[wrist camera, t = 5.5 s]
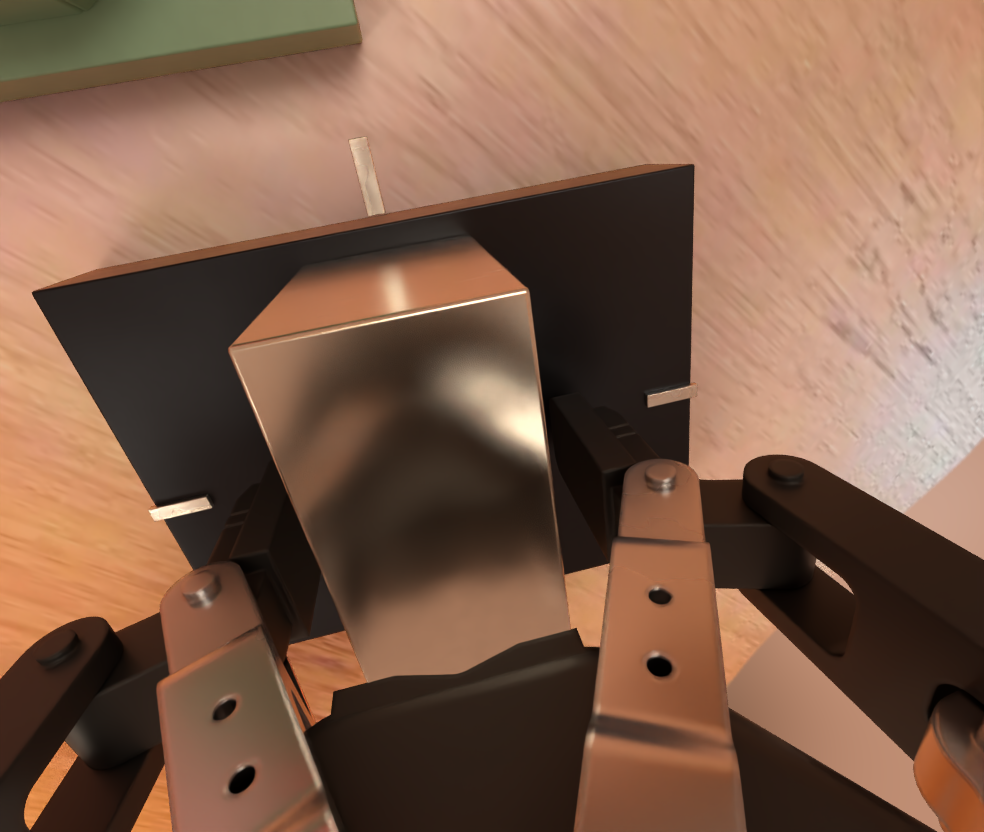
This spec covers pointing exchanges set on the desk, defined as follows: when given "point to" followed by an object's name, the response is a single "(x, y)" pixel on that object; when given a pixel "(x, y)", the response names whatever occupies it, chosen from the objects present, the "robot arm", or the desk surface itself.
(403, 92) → the desk surface
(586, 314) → the black flat square plate
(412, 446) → the silver metal block
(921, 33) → the desk surface
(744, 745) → the robot arm
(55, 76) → the green rectangular block
